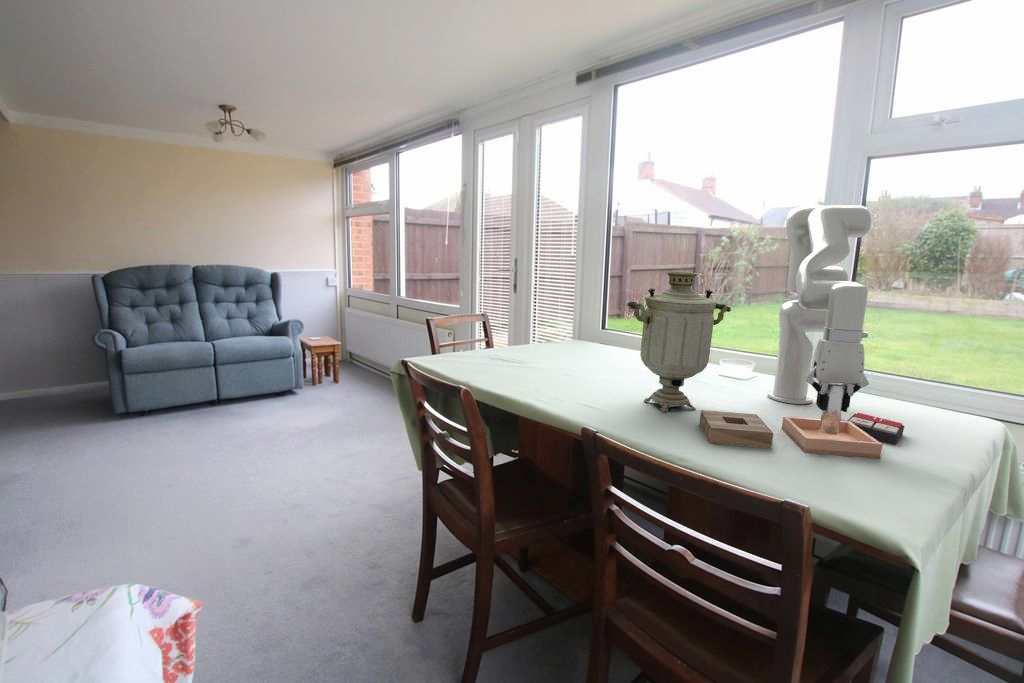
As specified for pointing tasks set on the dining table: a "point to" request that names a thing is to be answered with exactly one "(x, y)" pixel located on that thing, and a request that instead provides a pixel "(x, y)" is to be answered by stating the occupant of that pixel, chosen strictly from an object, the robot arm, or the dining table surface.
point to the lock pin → (832, 409)
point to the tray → (831, 438)
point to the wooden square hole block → (735, 429)
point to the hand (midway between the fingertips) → (831, 408)
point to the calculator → (875, 426)
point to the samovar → (676, 336)
